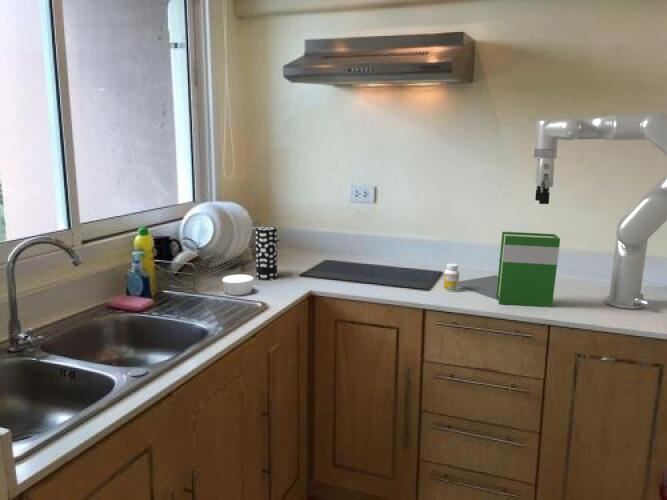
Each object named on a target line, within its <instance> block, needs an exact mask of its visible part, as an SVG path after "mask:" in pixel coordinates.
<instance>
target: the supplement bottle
mask: <svg viewBox="0 0 667 500" xmlns="http://www.w3.org/2000/svg"><path fill="white" fill-rule="evenodd" d="M458 267H459V264H457V263H447V264H446V269H445V270H444V274H443V275H444V276H443V290H444V291H446V292H457V291H459V286H458V284H459V281H460V271H459V270H458Z"/></svg>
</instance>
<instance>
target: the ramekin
mask: <svg viewBox="0 0 667 500" xmlns="http://www.w3.org/2000/svg"><path fill="white" fill-rule="evenodd" d="M221 281H222V283H223V284H222V285H223V289H224V292H225V294H227V295H229V296H245V295H248V294H250V293H251V292H252V290H253V283H254V281H255V279H254V276H252V275H250V274H249V275H248V274H241V273H240V274H239V273H238V274H231V275H226V276H224V277H223V278H222V280H221Z"/></svg>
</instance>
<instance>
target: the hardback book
mask: <svg viewBox="0 0 667 500" xmlns="http://www.w3.org/2000/svg"><path fill="white" fill-rule="evenodd" d="M560 243H561V238H560V237H559V236H558V235H556V234H555V233H539V232H538V233H537V232H523V231H521V232H519V231H517V232H516V231H502V232H501V242H500V249H499V250H500V253H499V263H498V273H497V276H498V282H497V292H496V298H499V300H498V304H500V305H515V306H530V307H542V308H543V307H545V308H546V307H547V308H552V307H553V301H554V294H555V285H556V284H555V283H556V277H557V269H558V268H557V267H558V260H559V252H560Z"/></svg>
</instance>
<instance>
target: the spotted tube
mask: <svg viewBox="0 0 667 500" xmlns="http://www.w3.org/2000/svg"><path fill="white" fill-rule="evenodd" d="M254 230H255V234H254V235H255V236H254V237H255V238H254V239H255V274H256V275H255V277H256V278H255V279H256V280H259V281H273V280H276V279H278V251H277V250H278V249H277V248H278V244H277V243H278V242H277V241H278V238H277V237H278V236H277V235H278V234H277V233H278V232H277V227H274V226H257V227H255V228H254Z"/></svg>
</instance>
